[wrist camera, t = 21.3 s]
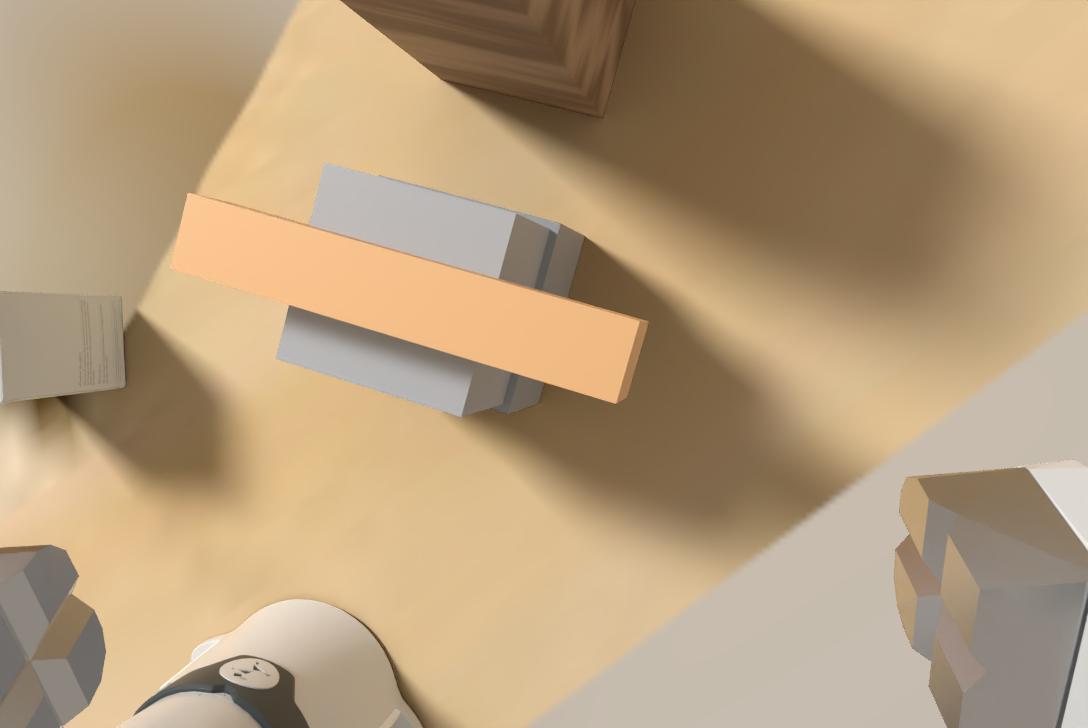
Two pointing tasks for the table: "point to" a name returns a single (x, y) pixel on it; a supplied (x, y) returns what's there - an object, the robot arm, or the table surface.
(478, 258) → the slate pedestal
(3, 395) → the supplement box
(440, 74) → the walnut post
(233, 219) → the orange bar
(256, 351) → the table surface
